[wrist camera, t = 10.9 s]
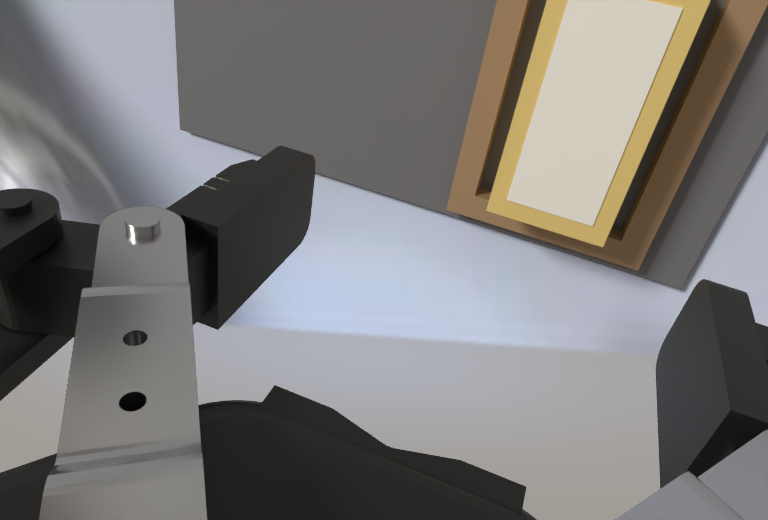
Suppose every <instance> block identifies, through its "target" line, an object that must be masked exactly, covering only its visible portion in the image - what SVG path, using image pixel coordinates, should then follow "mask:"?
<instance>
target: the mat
mask: <svg viewBox="0 0 768 520" xmlns="http://www.w3.org/2000/svg"><path fill="white" fill-rule="evenodd" d="M546 1H547V0H174V9H175V31H176V52H177V73H178V95H179V116H180V130H184V131H187V132H190V133H193V134H196V135H199V136H202V137H206V138H209V139H212V140H215V141H218V142H221V143H224V144H227V145H231V146H234V147H237V148H240V149H243V150H246V151H249V152H253V153H256V154H259V155H262V156H265V155H266V154H268V153H269V152H271V151H272V150H273V149H275V148H276V147H278V146H285V147H288V148H291V149H294V150H298V151H301V152H304V153H307V154H310V155H313V156H314V158H315V164H316V167H315V173H318V174H321V175H325V176H328V177H331V178H334V179H337V180H340V181H343V182H347V183H350V184H353V185H356V186H359V187H362V188H365V189H369V190H372V191H375V192H378V193H381V194H384V195H387V196H390V197H394V198H397V199H400V200H403V201H406V202H409V203H412V204H416V205H419V206H422V207H425V208H428V209H431V210H434V211H437V212H441V213H444V214H447V215H450V216H453V217H456V218H459V219H463V220H466V221H469V222H472V223H475V224H478V225H481V226H484V227H488V228H491V229H494V230H497V231H500V232H503V233H506V234H510V235H513V236H516V237H519V238H522V239H525V240H528V241H531V242H535V243H538V244H541V245H544V246H547V247H550V248H553V249H557V250H560V251H563V252H566V253H569V254H572V255H575V256H579V257H582V258H585V259H588V260H591V261H594V262H597V263H600V264H604V265H607V266H610V267H613V268H616V269H619V270H622V271H626V272H629V273H632V274H635V275H638V276H641V277H644V278H647V279H651V280H654V281H657V282H660V283H663V284H666V285H669V286H673V287H676V288H679V289H681V287H682V286H683V284H684V282H685V280H686V278H687V277H688V275H689V273H690V271H691V269H692V267H693V266H694V264H695V262H696V260H697V258H698V257H699V255H700V253H701V251H702V249H703V247H704V246H705V244H706V242H707V240H708V238H709V237H710V235H711V233H712V231H713V229H714V227H715V226H716V224H717V222H718V220H719V218H720V217H721V215H722V213H723V211H724V209H725V207H726V206H727V204H728V202H729V200H730V198H731V197H732V195H733V193H734V191H735V189H736V187H737V186H738V184H739V182H740V180H741V178H742V177H743V175H744V173H745V171H746V169H747V167H748V166H749V164H750V162H751V160H752V158H753V157H754V155H755V153H756V151H757V149H758V147H759V146H760V144H761V142H762V140H763V138H764V137H765V135H766V133H767V131H768V0H711V1H710V3H709V5H708V8H707V10H706V12H705V14H704V17H703V19H702V21H701V24H700V26H699V28H698V31H697V33H696V35H695V37H694V40H693V42H692V44H691V47H690V49H689V51H688V53H687V56H686V58H685V60H684V63H683V65H682V67H681V70H680V72H679V74H678V76H677V79H676V81H675V83H674V86H673V88H672V90H671V92H670V95H669V97H668V99H667V102H666V104H665V106H664V109H663V111H662V113H661V115H660V118H659V120H658V122H657V125H656V127H655V129H654V131H653V134H652V136H651V138H650V141H649V143H648V145H647V148H646V150H645V152H644V154H643V157H642V159H641V161H640V164H639V166H638V168H637V171H636V173H635V175H634V177H633V180H632V182H631V184H630V187H629V189H628V191H627V193H626V196H625V198H624V200H623V203H622V205H621V207H620V210H619V212H618V214H617V216H616V219H615V221H614V223H613V226H612V228H611V230H610V232H609V235H608V237H607V239H606V242H605V244H604V246H603V247H600V246H597V245H594V244H590V243H587V242H584V241H581V240H578V239H575V238H571V237H568V236H565V235H562V234H559V233H555V232H552V231H549V230H546V229H543V228H539V227H536V226H533V225H530V224H527V223H524V222H520V221H517V220H514V219H511V218H508V217H504V216H501V215H498V214H495V213H492V212H489V211H486V209H487V206H488V202H489V199H490V195H491V192H492V188H493V185H494V181H495V178H496V174H497V171H498V168H499V164H500V161H501V157H502V154H503V150H504V147H505V143H506V140H507V136H508V133H509V129H510V126H511V122H512V119H513V116H514V112H515V109H516V105H517V102H518V98H519V95H520V91H521V88H522V84H523V81H524V77H525V74H526V71H527V67H528V64H529V60H530V57H531V53H532V50H533V46H534V43H535V39H536V36H537V32H538V29H539V25H540V22H541V19H542V15H543V12H544V8H545V5H546Z"/></svg>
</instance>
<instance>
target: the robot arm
mask: <svg viewBox="0 0 768 520" xmlns="http://www.w3.org/2000/svg"><path fill="white" fill-rule="evenodd" d="M315 167H316V164H315V158H314V156H313V155H310V154H307V153H304V152H301V151H298V150H294V149H291V148H288V147H285V146H278V147H276V148H275V149H273V150H272V151H271V152H269V153H268V154H266V155H265V156H263V157H262V158H261V159H259V160H258V161H256V160H253V159H252V160H248V161H245V162H241V163H238V164H234V165H231V166H229V167H228V168H226V169H225V170H223V171H222V172H220V173H219V174H217V175H216V177H215V178H214V177H213V178H211V179H210V180H208V181H207V182H205V183H204V185H203V186H199V187H198V188H196V189H195V190H193V191H192V192H190V193H189V194H187V195H186V196H184V197H183V198H182V199H180V200H179V201H177V202H176V203H174V204H173V205H171V206H170V207H168V208H167V209H163V208H158V207H151V206H140V207H131V208H126V209H122V210H119V211H116V212H114V213H112V214H110V215H109V216H107V217H106V218H105V219H104V220H103V221H102V223H101V224H100V225H97V224H89V223H81V222H74V221H66V220H62V219H61V213H60V208H59V202H58V201H57V199H56V198H55V197H54V196H52V195H50V194H49V193H46V192H43V191H39V190H34V189H7V190H1V191H0V401H1V400H2V399H3V398H4V397H5V396H6V395H8V393H10V392H11V391H12V390H13V389H14V388H15V387H17V386H18V385H19V384H20V383H21V382H22V381H24V380H25V379H26V378H27V377H28V376H29V375H30V374H32V373H33V372H34V371H35V370H36V369H37V368H38V367H40V366H41V365H42V364H43V363H44V362H45V361H46V360H47V359H49V358H50V357H51V356H52V355H53V354H54V353H56V352H57V351H58V350H59V349H60V348H61V347H62V346H64V345H65V344H66V343H67V342H68V341H69V340H71V339H72V338H73V337H75V338H74V345H73V351H72V358H71V365H70V371H69V378H68V384H67V391H66V398H65V404H64V412H63V418H62V424H61V431H60V438H59V444H58V451H57V453H56V454H54V455H51V456H48V457H45V458H42V459H39V460H36V461H33V462H31V463H28V464H25V465H22V466H19V467H16V468H13V469H10V470H7V471H4V472H2V473H0V520H536V519H535V518H534V517H533V516H532V515H530V514H529V513H527V512H526V511H524V510H523V509H522V507H523V501H524V496H525V491H526V487H525V486H523V485H520V484H518V483H515V482H513V481H510V480H508V479H505V478H503V477H501V476H498V475H496V474H493V473H491V472H488V471H486V470H483V469H481V468H478V467H476V466H473V465H471V464H468V463H466V462H463V461H461V460H456V459H451V458H445V457H439V456H433V455H428V454H423V453H417V452H411V451H406V450H400V449H395V448H391V447H389V446H386V445H385V444H383V443H381V442H380V441H378V440H377V439H376V438H374V437H373V436H371V435H370V434H369V433H367V432H366V431H364V430H363V429H361V428H360V427H358V426H357V425H355V424H354V423H353V422H351V421H350V420H348V419H347V418H345V417H344V416H342V415H341V414H339V413H338V412H337V411H335V410H334V409H332V408H330V407H327V406H325V405H322V404H320V403H317V402H315V401H312V400H310V399H308V398H305V397H302V396H300V395H297V394H295V393H293V392H290V391H288V390H285V389H283V388H280V387H278V386H274V387H273V388H272V390H271V391H270V393H269V394H268V395H267V397H266V398H265V399H264V401H263V402H256V401H243V400H234V401H233V400H232V401H220V402H211V403H206V404H202V405H198V395H197V380H196V366H195V352H194V339H193V325H194V324H195V323H196V322H200V323H202V324H205V325H207V326H210V327H212V328H215V329H217V330H218V329H219V328H220V327H221V326H222V325H223V324H224V323H225V322H226V321H227V320H228V319H229V318H230V317H231V316H232V315H233V314H234V313H235V312H236V310H237V309H238V308H239V307H240V306H241V305H242V304H243V303H244V302H245V301H246V300H247V299H248V298H249V297H250V296H251V295H252V294H253V293H254V292H255V291H256V290H257V289H258V288H259V287H260V285H261V284H262V283H263V282H264V281H265V280H266V279H267V278H268V277H269V276H270V275H271V274H272V273H273V272H274V271H275V270H276V269H277V268H278V267H279V266H280V265H281V264H282V263H283V262H284V260H285V259H286V258H287V257H288V256H289V255H290V254H291V253H292V252H293V251H294V250H295V249H296V248H297V247H298V246H299V245H300V244H301V242H302V240H303V239H304V237H305V235H306V232H307V230H308V226H309V222H310V216H311V207H312V197H313V187H314V177H315ZM656 388H657V413H658V434H659V435H658V437H659V460H660V461H659V463H660V488H661V489H659V490H658V491H657V492H655V493H653V494H652V495H650V496H649V497H648V498H646V499H645V500H643V501H642V502H640V503H639V504H637V505H636V506H634V507H633V508H631V509H630V510H628V511H627V512H625V513H624V514H622V515H621V516H619V517H618V518H616V519H615V520H768V327H767V326H764V325H761V324H758V323H755V319H754V315H753V312H752V308H751V305H750V301H749V297H748V295H747V293H746V292H744V291H740V290H737V289H734V288H731V287H728V286H724V285H721V284H718V283H715V282H712V281H709V280H705V279H703V280H701V281H700V282H699V283H698V284H697V285H696V286H695V288H694V290H693V291H692V293H691V295H690V296H689V298H688V300H687V302H686V303H685V305H684V307H683V309H682V310H681V312H680V314H679V315H678V317H677V319H676V321H675V322H674V324H673V326H672V328H671V329H670V331H669V333H668V334H667V336H666V338H665V340H664V342H663V344H662V346H661V349H660V352H659V355H658V359H657V364H656Z"/></svg>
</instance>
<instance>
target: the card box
mask: <svg viewBox="0 0 768 520" xmlns="http://www.w3.org/2000/svg"><path fill="white" fill-rule="evenodd" d="M710 1H711V0H547V1H546V5H545V8H544V12H543V15H542V19H541V22H540V25H539V29H538V32H537V36H536V39H535V43H534V46H533V50H532V53H531V57H530V60H529V64H528V67H527V71H526V74H525V77H524V81H523V84H522V88H521V91H520V95H519V98H518V102H517V105H516V109H515V112H514V116H513V119H512V122H511V126H510V129H509V133H508V136H507V140H506V143H505V147H504V150H503V154H502V157H501V161H500V164H499V168H498V171H497V174H496V178H495V181H494V185H493V188H492V192H491V195H490V199H489V202H488V206H487V209H486V211H489V212H492V213H495V214H498V215H501V216H504V217H508V218H511V219H514V220H517V221H520V222H524V223H527V224H530V225H533V226H536V227H539V228H543V229H546V230H549V231H552V232H555V233H559V234H562V235H565V236H568V237H571V238H575V239H578V240H581V241H584V242H587V243H590V244H594V245H597V246H600V247H603V246H604V244H605V242H606V239H607V237H608V235H609V232H610V230H611V228H612V226H613V223H614V221H615V219H616V216H617V214H618V212H619V210H620V207H621V205H622V203H623V200H624V198H625V196H626V193H627V191H628V189H629V187H630V184H631V182H632V180H633V177H634V175H635V173H636V171H637V168H638V166H639V164H640V161H641V159H642V157H643V154H644V152H645V150H646V148H647V145H648V143H649V141H650V138H651V136H652V134H653V131H654V129H655V127H656V125H657V122H658V120H659V118H660V115H661V113H662V111H663V109H664V106H665V104H666V102H667V99H668V97H669V95H670V92H671V90H672V88H673V86H674V83H675V81H676V79H677V76H678V74H679V72H680V70H681V67H682V65H683V63H684V60H685V58H686V56H687V53H688V51H689V49H690V47H691V44H692V42H693V40H694V37H695V35H696V33H697V31H698V28H699V26H700V24H701V21H702V19H703V17H704V14H705V12H706V10H707V8H708V5H709V3H710Z"/></svg>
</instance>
